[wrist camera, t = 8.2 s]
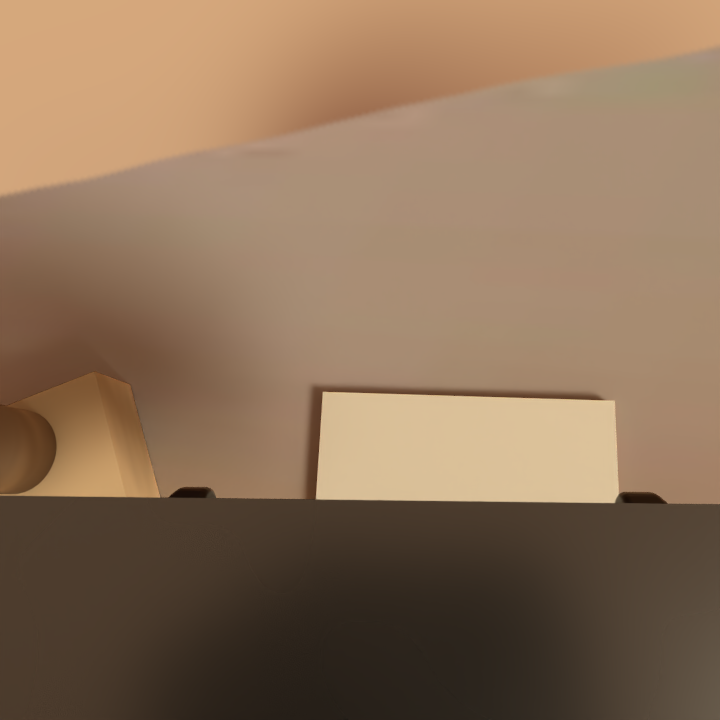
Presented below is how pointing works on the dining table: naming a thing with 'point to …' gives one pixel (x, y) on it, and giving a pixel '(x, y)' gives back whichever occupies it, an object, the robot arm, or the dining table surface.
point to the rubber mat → (466, 449)
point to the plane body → (75, 442)
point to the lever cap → (357, 609)
